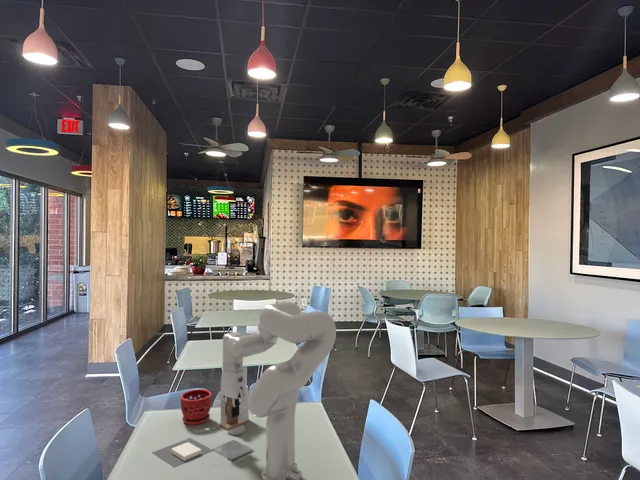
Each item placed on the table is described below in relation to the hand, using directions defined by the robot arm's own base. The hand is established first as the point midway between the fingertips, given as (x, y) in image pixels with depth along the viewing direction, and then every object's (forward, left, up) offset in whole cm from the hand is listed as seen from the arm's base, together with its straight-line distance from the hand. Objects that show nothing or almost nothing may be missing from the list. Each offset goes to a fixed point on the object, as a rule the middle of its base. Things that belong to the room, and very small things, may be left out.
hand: (232, 414), depth 156 cm
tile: (+15, +13, -12) cm, 23 cm away
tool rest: (0, 0, -13) cm, 13 cm away
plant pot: (+34, -6, -14) cm, 37 cm away
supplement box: (+21, -17, -14) cm, 30 cm away
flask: (+12, -11, -14) cm, 21 cm away
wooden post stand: (0, 0, -4) cm, 4 cm away
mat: (+13, +13, -13) cm, 23 cm away
